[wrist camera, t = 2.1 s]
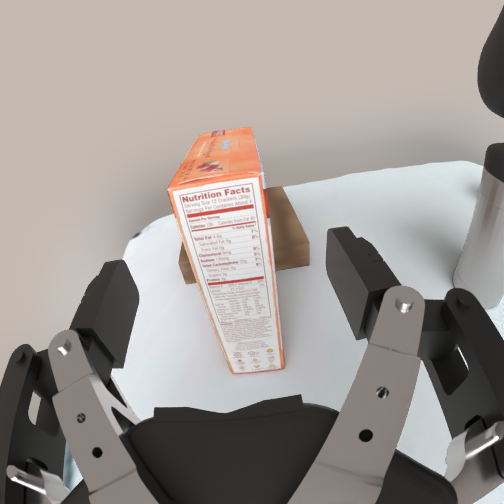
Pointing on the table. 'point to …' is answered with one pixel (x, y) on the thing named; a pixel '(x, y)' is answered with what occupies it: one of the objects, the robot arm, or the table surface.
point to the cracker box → (231, 245)
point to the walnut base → (283, 237)
